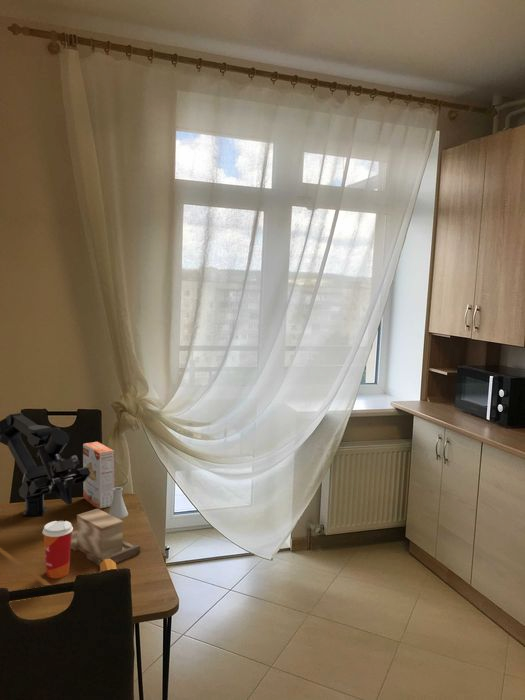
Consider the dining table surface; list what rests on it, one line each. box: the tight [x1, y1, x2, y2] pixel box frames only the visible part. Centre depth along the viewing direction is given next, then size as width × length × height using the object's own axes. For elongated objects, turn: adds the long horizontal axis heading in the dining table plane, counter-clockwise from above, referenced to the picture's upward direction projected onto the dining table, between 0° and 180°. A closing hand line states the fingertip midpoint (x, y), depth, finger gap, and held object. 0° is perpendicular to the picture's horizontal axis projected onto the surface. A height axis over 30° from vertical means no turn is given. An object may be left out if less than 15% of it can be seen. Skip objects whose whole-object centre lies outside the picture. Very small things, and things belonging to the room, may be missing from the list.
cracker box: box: [82, 441, 115, 510], centre depth 199 cm, size 14×6×21 cm, turn 41°
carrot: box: [99, 559, 118, 572], centre depth 144 cm, size 20×4×4 cm, turn 26°
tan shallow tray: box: [71, 529, 141, 567], centre depth 166 cm, size 26×22×3 cm
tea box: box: [76, 507, 124, 559], centre depth 165 cm, size 13×7×9 cm, turn 49°
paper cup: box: [41, 520, 74, 579], centre depth 149 cm, size 8×8×14 cm
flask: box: [108, 486, 129, 520], centre depth 189 cm, size 7×7×10 cm
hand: (70, 504), depth 175 cm, fingers closed
